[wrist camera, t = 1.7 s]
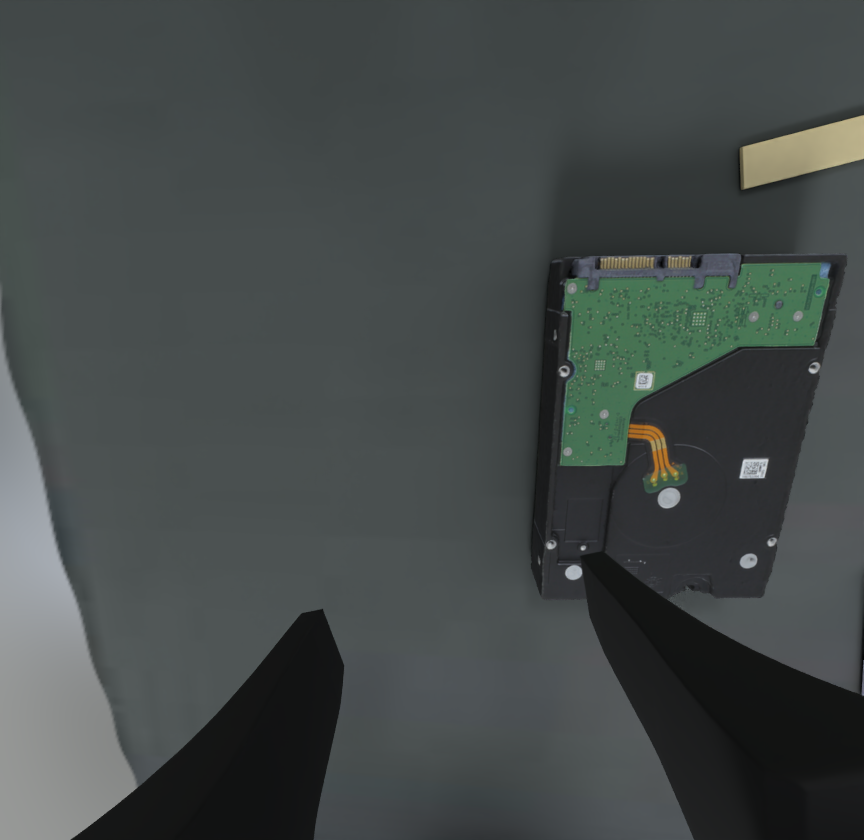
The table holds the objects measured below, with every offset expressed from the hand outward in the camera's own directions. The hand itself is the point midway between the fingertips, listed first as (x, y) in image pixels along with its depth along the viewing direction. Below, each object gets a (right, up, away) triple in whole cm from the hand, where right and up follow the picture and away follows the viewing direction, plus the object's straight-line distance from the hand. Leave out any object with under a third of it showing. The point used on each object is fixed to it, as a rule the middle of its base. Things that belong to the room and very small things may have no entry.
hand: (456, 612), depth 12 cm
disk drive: (+9, +5, +9) cm, 14 cm away
